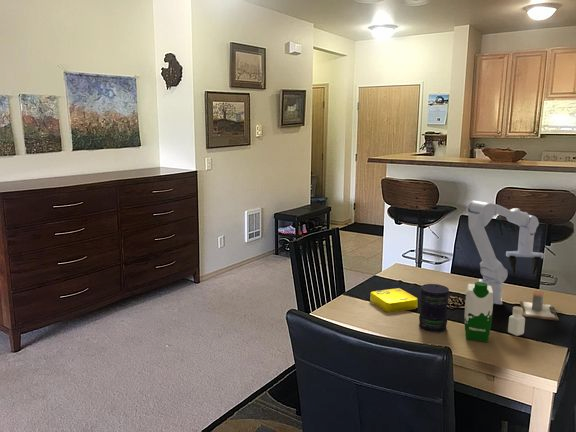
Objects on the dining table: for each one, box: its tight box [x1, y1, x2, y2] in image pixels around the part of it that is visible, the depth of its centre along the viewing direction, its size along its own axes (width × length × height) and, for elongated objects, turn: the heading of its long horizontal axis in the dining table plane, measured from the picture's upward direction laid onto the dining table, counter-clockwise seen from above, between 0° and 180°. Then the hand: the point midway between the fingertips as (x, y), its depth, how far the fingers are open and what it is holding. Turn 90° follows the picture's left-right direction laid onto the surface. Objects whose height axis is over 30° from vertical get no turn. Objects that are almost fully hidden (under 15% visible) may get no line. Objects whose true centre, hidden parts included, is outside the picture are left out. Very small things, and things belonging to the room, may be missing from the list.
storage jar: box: [418, 283, 450, 334], centre depth 173 cm, size 10×10×15 cm
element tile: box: [369, 287, 419, 313], centre depth 196 cm, size 15×15×5 cm
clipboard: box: [519, 300, 560, 322], centre depth 189 cm, size 12×16×2 cm
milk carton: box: [463, 281, 494, 343], centre depth 164 cm, size 9×9×20 cm
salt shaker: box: [507, 306, 526, 337], centre depth 168 cm, size 4×4×10 cm
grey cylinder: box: [532, 290, 545, 311], centre depth 188 cm, size 3×3×7 cm
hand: (522, 273), depth 204 cm, fingers open, 7 cm apart
